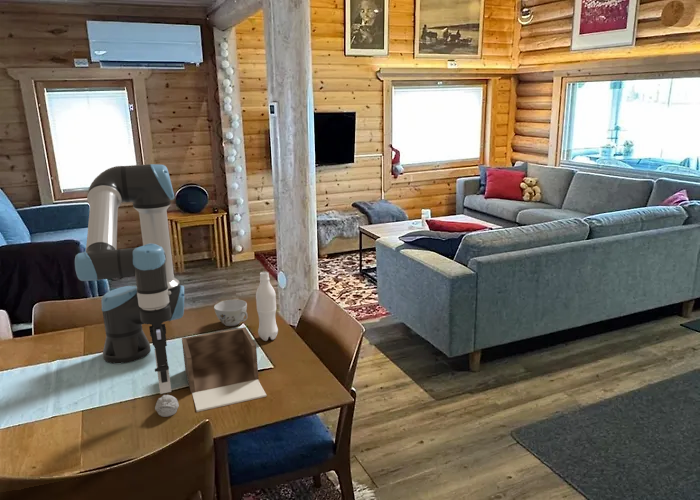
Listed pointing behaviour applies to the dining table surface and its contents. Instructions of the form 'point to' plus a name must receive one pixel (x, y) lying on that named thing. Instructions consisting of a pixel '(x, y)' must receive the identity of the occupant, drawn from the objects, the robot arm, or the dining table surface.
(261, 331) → the water bottle
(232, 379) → the crate
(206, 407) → the panel
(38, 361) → the dining table surface
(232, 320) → the teacup
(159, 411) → the white sculpted head
